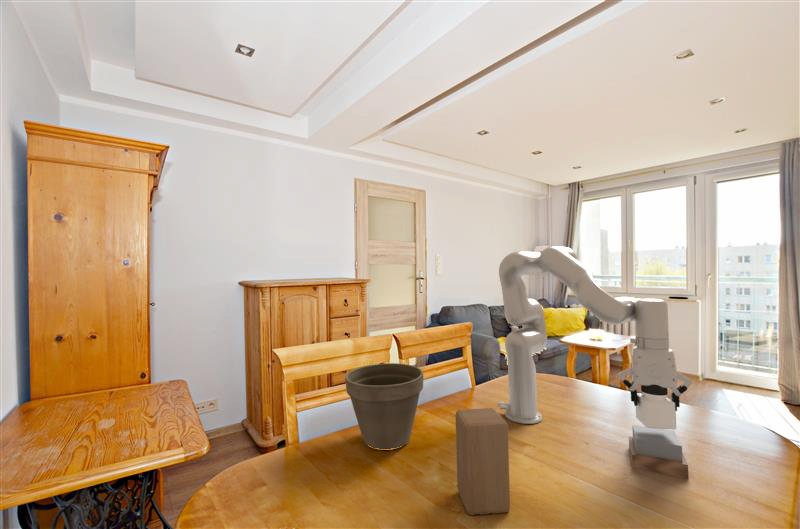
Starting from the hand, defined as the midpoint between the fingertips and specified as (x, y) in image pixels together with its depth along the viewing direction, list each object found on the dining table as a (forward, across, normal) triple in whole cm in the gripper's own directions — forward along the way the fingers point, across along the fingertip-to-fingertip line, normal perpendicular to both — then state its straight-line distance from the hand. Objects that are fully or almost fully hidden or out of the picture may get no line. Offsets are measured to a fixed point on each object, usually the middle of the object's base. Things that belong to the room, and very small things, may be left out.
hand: (654, 406), depth 102 cm
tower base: (+16, 0, -1) cm, 16 cm away
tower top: (+12, 0, 0) cm, 12 cm away
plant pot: (+15, -74, -21) cm, 78 cm away
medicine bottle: (+5, 0, 0) cm, 5 cm away
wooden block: (+15, -38, -38) cm, 56 cm away
